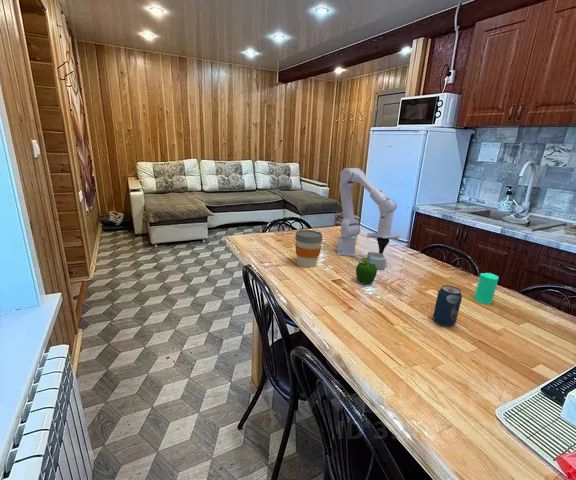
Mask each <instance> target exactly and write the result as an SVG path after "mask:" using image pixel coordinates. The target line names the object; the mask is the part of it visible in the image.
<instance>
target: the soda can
mask: <svg viewBox="0 0 576 480" xmlns="http://www.w3.org/2000/svg"><path fill="white" fill-rule="evenodd" d="M462 295H463V294H462V290H461V289H460V288H458V287H456V286H453V285H449V284H448V285H445V284H444V285H442V286H441V288H439V290H438V292H437V297H436V301H435V305H434V309H433V315H432V317H433V319H434V322H435V323H437V324H439V325H441V326H444V327H452V326H454V325H455V324H456V323H457V320H458V315H459V312H460V308H461V303H462V299H463V296H462Z"/></svg>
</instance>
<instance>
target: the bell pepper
mask: <svg viewBox="0 0 576 480" xmlns="http://www.w3.org/2000/svg"><path fill="white" fill-rule="evenodd" d="M360 260H361V261H360V262H358V264H357V265H356V267H355V276H356V280H357V282H358V283H363V284H364V285H372V283H373V282H374V281H375V279H376V276H377V273H378V270H377V268H376V265H375V264H371V263H369V262H368V261H367V260H366V259H360ZM364 261H365V263H364Z"/></svg>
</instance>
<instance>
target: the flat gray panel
mask: <svg viewBox="0 0 576 480" xmlns="http://www.w3.org/2000/svg"><path fill="white" fill-rule="evenodd" d="M362 259H366V260H367V257H362ZM363 263H365V261H363ZM376 268H377V271H384V270H385V268H378V267H376Z"/></svg>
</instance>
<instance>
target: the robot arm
mask: <svg viewBox="0 0 576 480" xmlns="http://www.w3.org/2000/svg"><path fill="white" fill-rule="evenodd" d="M339 177H340V180H339V195H340V199H341V200H340V201H341V202H340V203H341V210H342V215H343V216H342V217H343V218H342V219H343V220H342V222H340V230H339V232H340V236H338V238H337V244H336V245H337V246H336V254H337V255H338V256H348V257H349V256H350V257H356V256H357V254H356V252H355V251H356V244H357V237H358V235H359V234H360V232H361V227H360V225H359V222H358V220H357V219H356V218H355V211H354V206H353V205H354V204H353V196H352V187H353V185H354V184H356V183H358V184H360V185H361V186H362V187H363V188H364V189H365V190H366V191H367V192H368V193H369V197H370V199H371V200H372V201H373V202H374V203H375V204H376V205H377V206H378V210H379V218H378V219H379V220H378V227H377V232H367V236H366V237H367V238H368V239H371V238H372V239H376V241H377V245H378V253H380V254H383V255H384V251H385V249H386V248H387V246H388V244H389V243H390V240H394V241H399V240H400V234H391V231H392V230H391V229H392V225H393V218H394V212H395V211H396V210H397V206H398V205H397V202H396V201H395V199H391V198H390V197H389V196H387V194H385V192H384V190H383V189H382V188H380V187H378V188H377V187H375V185H374V184H373V183H372V182H371V181H370V179H369V178H368V177H367V176H366V175H365V172H364V171H363V170H362V169H361V168H360V167H350V168H349V167H345V168H343V170H342V171H341V172H340V173H339Z"/></svg>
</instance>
